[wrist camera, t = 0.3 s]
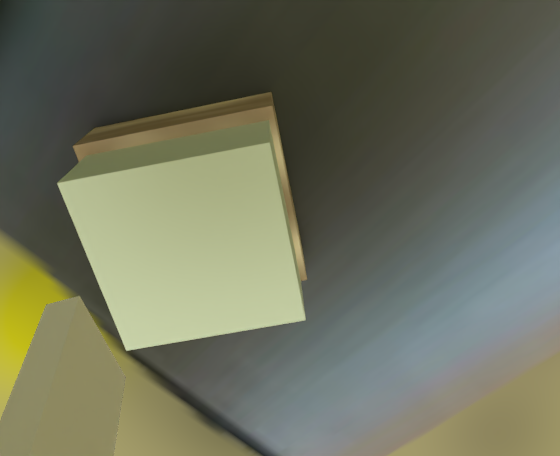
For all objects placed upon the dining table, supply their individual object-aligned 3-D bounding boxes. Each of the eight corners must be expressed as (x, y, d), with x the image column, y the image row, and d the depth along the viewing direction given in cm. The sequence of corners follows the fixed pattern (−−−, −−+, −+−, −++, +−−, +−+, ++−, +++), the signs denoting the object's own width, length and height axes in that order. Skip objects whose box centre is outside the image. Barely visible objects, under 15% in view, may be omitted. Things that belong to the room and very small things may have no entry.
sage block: (86, 155, 32) (57, 183, 27) (268, 120, 31) (269, 142, 27) (143, 306, 37) (126, 350, 32) (300, 279, 36) (305, 320, 32)
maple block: (96, 126, 36) (72, 146, 31) (271, 90, 35) (272, 105, 31) (150, 275, 42) (137, 310, 37) (302, 247, 41) (307, 279, 36)
